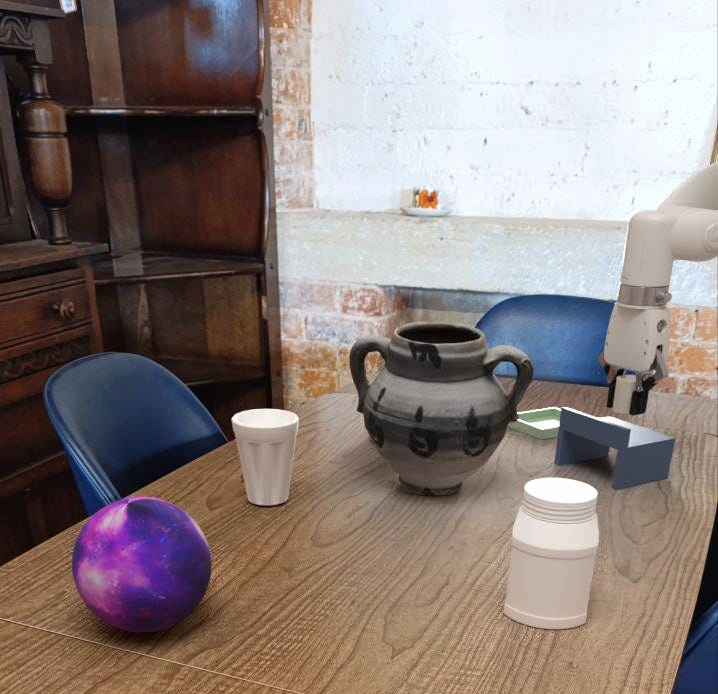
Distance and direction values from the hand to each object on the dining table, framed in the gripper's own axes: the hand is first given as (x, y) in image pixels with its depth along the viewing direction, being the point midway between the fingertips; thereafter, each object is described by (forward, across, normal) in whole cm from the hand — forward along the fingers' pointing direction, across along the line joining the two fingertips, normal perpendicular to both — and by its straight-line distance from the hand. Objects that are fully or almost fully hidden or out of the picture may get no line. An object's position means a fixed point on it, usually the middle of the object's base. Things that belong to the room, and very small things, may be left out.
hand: (625, 409), depth 147 cm
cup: (+10, +15, +60) cm, 62 cm away
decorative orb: (+9, -14, +89) cm, 90 cm away
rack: (+11, 0, +2) cm, 11 cm away
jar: (+10, -33, +46) cm, 57 cm away
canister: (0, 0, 0) cm, 0 cm away
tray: (+11, +25, -6) cm, 28 cm away
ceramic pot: (+10, +8, +34) cm, 36 cm away
